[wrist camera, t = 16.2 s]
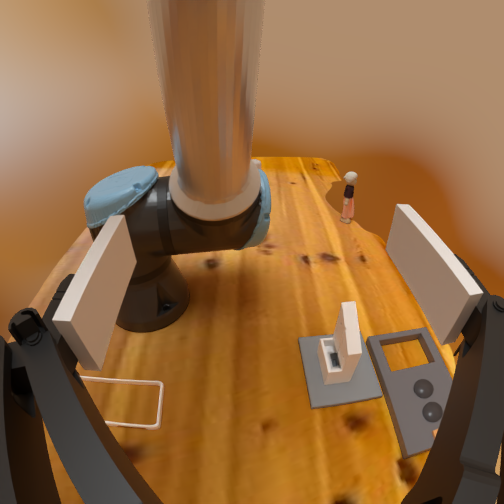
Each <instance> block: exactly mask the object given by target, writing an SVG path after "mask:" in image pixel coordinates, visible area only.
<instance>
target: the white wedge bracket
mask: <svg viewBox="0 0 504 504" xmlns="http://www.w3.org/2000/svg"><path fill="white" fill-rule="evenodd" d="M317 354H318V358H319V363H320V367H321V372H322V376H323V381H324V385H328V384H335V383H342V382H349V381H350V380H351V377H352V375H353V373H354V371H355V368H356V366H357V364H358V361H359V359H360V357H361V354H362V349H361V340H360V332H359V324H358V317H357V309H356V303H355V301H352V302H342V304H341V308H340V312H339V316H338V320H337V323H336V327H335V331H334V335H333V338H323V339H320V342H319V346H318V350H317ZM333 359H336V363H337V366H335V367H333V365H332V361H331V360H333Z"/></svg>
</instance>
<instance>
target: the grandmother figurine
mask: <svg viewBox="0 0 504 504" xmlns="http://www.w3.org/2000/svg"><path fill="white" fill-rule="evenodd" d="M356 178H357V174H356V173H355V172H348V173H347V174H346V175H345V176H344V179H346V182H347V186H346V188H345V192H344V208H343V212H342V214H341V217H342V218H341V219H340V221H342V222H344V223H350V222H351V220H350V218H352V217H353V216H354V200H353V193H354V192H353V191H354V185H355V184H356V181H357V180H356Z"/></svg>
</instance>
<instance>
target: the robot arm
mask: <svg viewBox="0 0 504 504" xmlns="http://www.w3.org/2000/svg"><path fill="white" fill-rule="evenodd" d="M147 6H148V14H149V21H150V28H151V34H152V41H153V46H154V53H155V59H156V65H157V71H158V77H159V82H160V88H161V93H162V99H163V104H164V109H165V114H166V120H167V124H168V129H169V134H170V139H171V144H172V149H173V153H174V158H175V163H176V165H175V167H174V169H173V170H172V173H171V175H170V176H166V177H158V173H157V171H156V169H155V168H154V167H151V166H146V167H145V166H137V167H133V168H129V169H125V170H123V171H120V172H117V173H115V174H113V175H111V176H108V177H107V178H105V179H103V180H102V181H100V182H98V183H97V184H96V185H95V186H93V187H92V188H91V189H90V190H89V192H88V193H87V195H86V196H85V199H84V209H85V214H86V219H87V227H88V228H89V230H90V233H91V236H92V239H93V244H92V246H91V248H90V249H89V251H88V253H87V254H86V256H85V258H84V260H83V261H82V263H81V265H80V267H79V268H78V270H77V272H76V274H69V275H68V276H67V277H66V278H65V279H64V280H63V281H62V282H61V283H60V285H59V287H58V289H57V291H56V293H55V294H54V296H53V298H52V299H53V300H51V302H50V304H49V306H48V308H47V310H46V312H45V314H44V316H43V318H42V319H41V317H40V315H39V314H38V312H37V310H36V309H34V308H25V309H23V310H20V311H19V312H18V313H16V314H15V315H14V316H13V317H12V319H11V320H10V323H9V327H8V328H9V329H8V330H9V332H10V333H11V334H12V336H13V337H14V339H15V340H16V342H11V343H7V342H6V341H5V340H4V338H3V337H2V336H0V504H61V501H60V498H59V494H58V491H57V487H56V484H55V480H54V476H53V472H52V468H51V464H50V459H49V454H48V450H47V444H46V439H45V433H44V427H43V421H44V423H45V426H46V428H47V430H48V433H49V435H50V438H51V440H52V442H53V444H54V447H55V449H56V451H57V453H58V455H59V457H60V459H61V461H62V463H63V465H64V467H65V469H66V471H67V473H68V475H69V477H70V479H71V481H72V482H73V484H74V486H75V488H76V489H77V491H78V493H79V495H80V496H81V498H82V500H83V501H84V503H85V504H163V503H162V501H161V500H160V499H159V498H158V497H157V495H156V494H155V493H154V492H153V490H152V489H151V488H150V487H149V485H148V484H147V483H146V482H145V480H144V479H143V478H142V476H141V475H140V474H139V472H138V471H137V470H136V468H135V467H134V465H133V464H132V463H131V461H130V460H129V458H128V457H127V455H126V454H125V453H124V451H123V450H122V448H121V447H120V445H119V444H118V442H117V440H116V439H115V437H114V436H113V434H112V433H111V431H110V429H109V428H108V426H107V424H106V423H105V421H104V419H103V418H102V416H101V414H100V413H99V411H98V409H97V407H96V406H95V404H94V402H93V400H92V398H91V396H90V395H89V393H88V391H87V389H86V387H85V385H84V383H83V381H82V379H81V377H80V375H79V373H78V372H77V370H76V369H75V368H76V365H77V362H78V361H79V363H80V364H81V366H82V367H83V368H84V369H85V370H95V371H101V370H102V367H103V363H104V359H105V356H106V352H107V349H108V345H109V342H110V339H111V336H112V332H113V329H114V326H115V323H116V324H117V325H119V326H120V327H122V328H124V329H126V330H130V331H134V332H148V331H154V330H157V329H160V328H163V327H165V326H167V325H169V324H171V323H172V322H174V321H175V320H176V319H178V318H179V317H180V316H181V315H182V314H183V312H184V311H185V309H186V308H187V305H188V303H189V290H188V285H187V282H186V279H185V277H184V276H183V274H182V273H181V271H180V270H179V268H178V267H177V265H176V263H175V262H174V260H173V259H172V257H171V255H178V254H189V253H199V252H210V251H221V250H232V249H233V250H241V249H244V248H248V247H255V246H258V245H259V244H261V243H262V242H263V240H264V239H265V237H266V235H267V232H268V229H269V225H270V216H269V214H270V212H271V193H270V187H269V182H268V179H267V176H266V174H265V173H264V172H263V171H262V170H261V169H258V168H257V166H256V164H255V163H254V162H253V161H252V160H251V148H252V136H253V124H254V112H255V102H256V91H257V80H258V68H259V57H260V47H261V36H262V26H263V15H264V6H265V0H147ZM386 251H387V253H388V255H389V256H390V258H391V259H392V261H393V262H394V264H395V265H396V267H397V269H398V270H399V272H400V273H401V275H402V277H403V278H404V280H405V282H406V283H407V285H408V287H409V288H410V290H411V292H412V293H413V295H414V297H415V298H416V300H417V302H418V304H419V305H420V307H421V309H422V310H423V312H424V314H425V316H426V318H427V319H428V321H429V323H430V325H431V327H432V329H433V330H434V332H435V334H436V336H437V338H438V340H439V342H440V344H441V345H445V344H449V343H452V342H455V341H456V339H457V338H458V336H459V334H460V333H461V332H462V334H463V336H464V339H463V341H462V342H461V344H460V345H459V347H458V348H457V350H456V351H455V353H454V355H453V356H456V355H457V353H458V352H459V356H458V361H457V365H456V369H455V374H454V378H453V382H452V386H451V389H450V393H449V397H448V400H447V403H446V407H445V410H444V413H443V416H442V419H441V422H440V425H439V428H438V431H437V434H436V437H435V440H434V442H433V445H432V447H431V450H430V453H429V455H428V458H427V460H426V462H425V465H424V467H423V469H422V472H421V474H420V476H419V478H418V481H417V482H416V484H415V486H414V487H413V488H412V489H411V491H410V492H409V493H408V494H407V495H406V496H405V498H404V499H403V501H402V502H401V504H495V502H496V499H497V504H504V299H503V298H502V297H500V296H496V295H490V294H489V293H488V291H487V290H486V288H485V287H484V286H483V285H482V283H481V282H480V280H479V279H478V278H477V277H476V276H475V275H474V273H473V272H472V270H471V269H470V268H469V267H468V265H467V264H466V263H465V262H464V260H462V259H461V258H459V257H458V256H457V255H456V254H453V253H452V252H451V251H450V250H449V248H448V247H447V246H446V245H445V244H444V243H443V241H442V240H441V239H440V238H439V237H438V236H437V234H436V233H435V232H434V231H433V230H432V229H431V228H430V227H429V226H428V225H427V223H426V222H425V221H424V220H423V219H422V218H421V217H420V216H419V215H418V214H417V213H416V212H415V211H414V209H413V208H411V206H410V205H401V204H397V205H396V209H395V213H394V217H393V222H392V226H391V230H390V234H389V238H388V242H387V246H386ZM42 418H43V421H42ZM501 442H502V445H501ZM500 446H501V466H500V476H499V475H497V474H496V473H495V466H496V463H497V459H498V455H499V451H500Z"/></svg>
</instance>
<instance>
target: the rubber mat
mask: <svg viewBox="0 0 504 504" xmlns="http://www.w3.org/2000/svg"><path fill="white" fill-rule="evenodd" d="M359 332H360V331H359ZM333 335H334V334H332V335H322V336H311V337H300V338H298V341H299V347H300V352H301V357H302V362H303V367H304V372H305V378H306V383H307V388H308V394H309V399H310V405H311V409H316V408H324V407H331V406H337V405H344V404H349V403H355V402H361V401H366V400H371V399H376V398H380V397H382V396H383V395H382V392H381V389H380V386H379V383H378V380H377V377H376V374H375V371H374V368H373V365H372V362H371V360H370V357H369V354H368V351H367V348H366V346H365V343H364V340H363V337H362V335H361V332H360V340H361V349H362V354H361V357H360V359H359V361H358V364H357V366H356V368H355V371H354V373H353V375H352V377H351V380H350V381H349V382H342V383H335V384H328V385H324V381H323V376H322V372H321V367H320V363H319V358H318V354H317V350H318V346H319V342H320V339H323V338H333ZM331 361H332V365H333V367H335V366H337V363H336V359H333V360H331Z"/></svg>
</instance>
